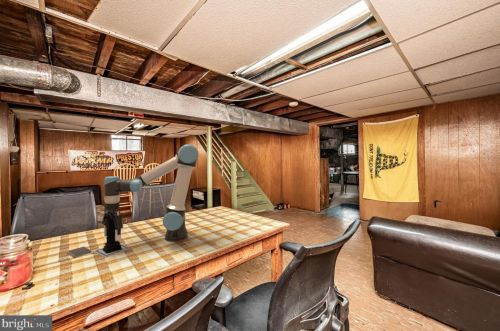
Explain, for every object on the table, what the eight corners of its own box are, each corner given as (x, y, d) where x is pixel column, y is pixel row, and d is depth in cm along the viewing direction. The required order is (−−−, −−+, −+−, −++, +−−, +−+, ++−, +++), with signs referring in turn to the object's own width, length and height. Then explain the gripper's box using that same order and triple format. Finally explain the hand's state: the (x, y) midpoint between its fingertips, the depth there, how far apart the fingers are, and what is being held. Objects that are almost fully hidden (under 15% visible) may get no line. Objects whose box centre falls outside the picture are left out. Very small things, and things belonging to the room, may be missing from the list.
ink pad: (84, 248, 124) (84, 246, 124) (91, 252, 119) (91, 249, 119) (67, 253, 117) (67, 250, 117) (74, 257, 112) (74, 255, 112)
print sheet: (119, 243, 132) (119, 242, 132) (130, 248, 124) (130, 247, 124) (93, 251, 120) (93, 250, 120) (104, 257, 112) (104, 256, 112)
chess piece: (102, 249, 122) (102, 216, 121) (117, 245, 128) (117, 213, 127) (106, 253, 116) (106, 218, 116) (122, 249, 122) (122, 216, 122)
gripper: (95, 201, 125) (95, 235, 125) (115, 205, 112) (116, 244, 112) (109, 199, 131) (109, 232, 132) (129, 203, 118) (130, 240, 119)
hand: (112, 237), depth 122 cm, fingers open, 13 cm apart
